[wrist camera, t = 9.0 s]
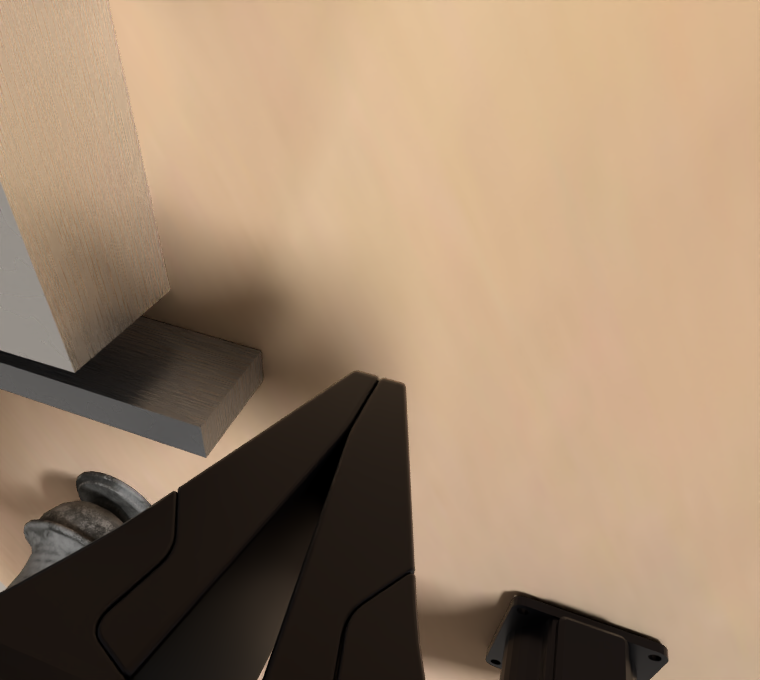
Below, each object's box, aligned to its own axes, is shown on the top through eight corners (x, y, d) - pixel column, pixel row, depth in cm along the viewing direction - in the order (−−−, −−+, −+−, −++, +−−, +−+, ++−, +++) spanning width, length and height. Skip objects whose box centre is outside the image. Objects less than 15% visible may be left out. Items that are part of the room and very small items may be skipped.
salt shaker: (106, 459, 29) (-121, 706, 20) (182, 529, 31) (8, 782, 22) (56, 477, 32) (-159, 697, 23) (127, 540, 34) (-43, 763, 25)
